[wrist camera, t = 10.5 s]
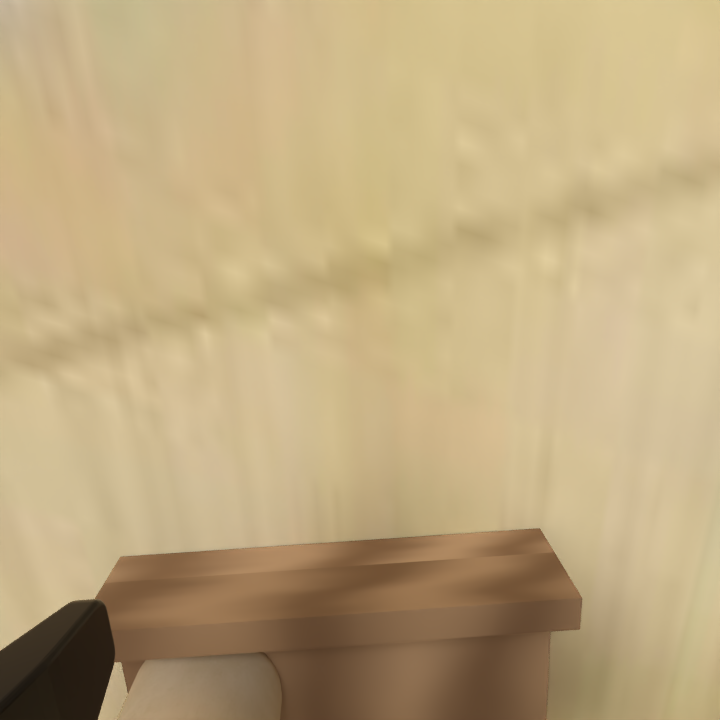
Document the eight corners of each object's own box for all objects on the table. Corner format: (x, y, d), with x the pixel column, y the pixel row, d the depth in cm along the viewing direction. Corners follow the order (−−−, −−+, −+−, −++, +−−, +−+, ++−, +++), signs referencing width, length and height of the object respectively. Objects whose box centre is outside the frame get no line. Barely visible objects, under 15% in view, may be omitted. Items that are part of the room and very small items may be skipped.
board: (539, 528, 22) (581, 598, 18) (532, 712, 24) (568, 807, 20) (120, 556, 21) (73, 633, 17) (157, 740, 24) (122, 841, 20)
